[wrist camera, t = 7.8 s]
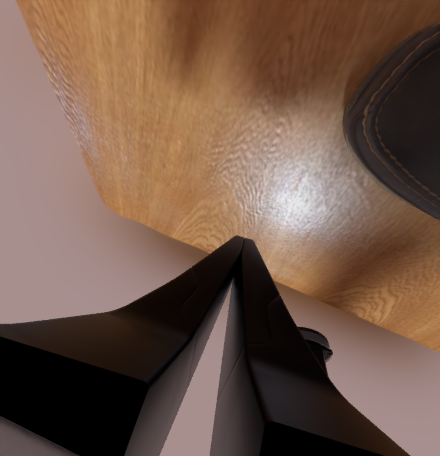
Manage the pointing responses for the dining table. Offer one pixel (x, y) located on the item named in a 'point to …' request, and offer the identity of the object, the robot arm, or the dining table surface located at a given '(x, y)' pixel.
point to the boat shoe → (401, 121)
